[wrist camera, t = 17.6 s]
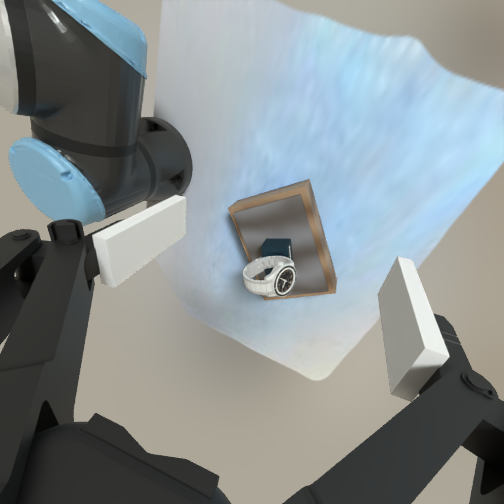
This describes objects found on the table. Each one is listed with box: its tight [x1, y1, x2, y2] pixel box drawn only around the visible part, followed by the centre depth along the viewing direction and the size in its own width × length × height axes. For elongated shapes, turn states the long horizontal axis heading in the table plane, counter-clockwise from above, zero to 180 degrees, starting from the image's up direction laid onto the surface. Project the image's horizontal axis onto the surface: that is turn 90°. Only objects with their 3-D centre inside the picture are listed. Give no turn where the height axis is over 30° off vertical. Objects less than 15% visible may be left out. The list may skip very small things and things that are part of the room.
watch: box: [243, 238, 297, 297], centre depth 41 cm, size 6×8×11 cm
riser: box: [228, 179, 337, 300], centre depth 48 cm, size 20×14×5 cm
